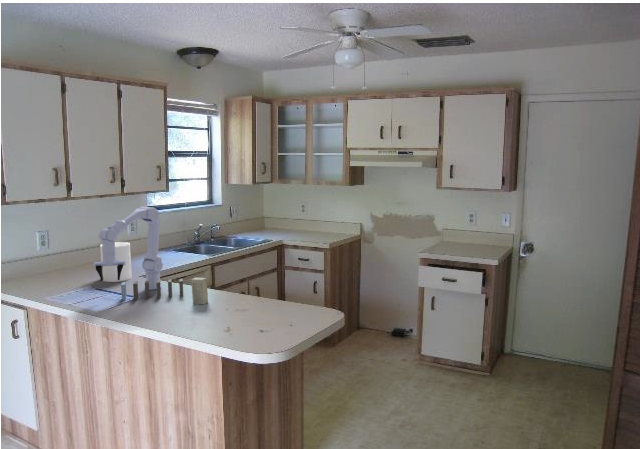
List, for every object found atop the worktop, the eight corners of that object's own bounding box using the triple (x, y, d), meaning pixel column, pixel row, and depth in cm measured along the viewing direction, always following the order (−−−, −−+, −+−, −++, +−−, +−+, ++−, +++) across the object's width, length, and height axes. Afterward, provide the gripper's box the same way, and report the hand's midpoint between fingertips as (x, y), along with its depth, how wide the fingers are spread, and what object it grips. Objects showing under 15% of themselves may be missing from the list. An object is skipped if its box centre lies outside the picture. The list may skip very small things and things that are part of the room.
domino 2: (134, 296, 252) (134, 281, 250) (138, 296, 252) (137, 281, 251) (133, 299, 247) (133, 284, 246) (137, 299, 247) (136, 283, 246)
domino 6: (180, 294, 257) (179, 278, 256) (183, 293, 257) (182, 278, 256) (179, 296, 252) (179, 281, 251) (183, 296, 253) (182, 281, 251)
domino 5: (169, 294, 256) (168, 279, 254) (172, 294, 256) (171, 279, 255) (168, 297, 251) (167, 282, 250) (171, 297, 251) (171, 281, 250)
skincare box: (208, 302, 243) (207, 277, 241) (203, 304, 239) (203, 279, 237) (196, 301, 244) (195, 276, 243) (191, 303, 240) (191, 279, 239)
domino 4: (157, 295, 254) (157, 280, 253) (161, 295, 255) (160, 280, 254) (157, 298, 249) (156, 282, 248) (160, 297, 250) (159, 282, 249)
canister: (136, 275, 296) (135, 242, 293) (123, 282, 280) (121, 247, 277) (111, 274, 298) (109, 241, 295) (96, 281, 282) (94, 246, 279)
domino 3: (146, 296, 253) (145, 280, 252) (149, 295, 253) (149, 280, 252) (145, 298, 248) (144, 283, 247) (148, 298, 249) (148, 283, 247)
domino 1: (123, 297, 250) (122, 282, 249) (126, 297, 251) (125, 282, 249) (122, 300, 245) (121, 284, 244) (125, 300, 246) (124, 284, 245)
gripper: (91, 255, 238) (93, 283, 240) (123, 253, 241) (125, 281, 243) (94, 252, 244) (95, 279, 246) (125, 251, 248) (126, 277, 250)
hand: (110, 280), depth 245 cm, fingers open, 7 cm apart
